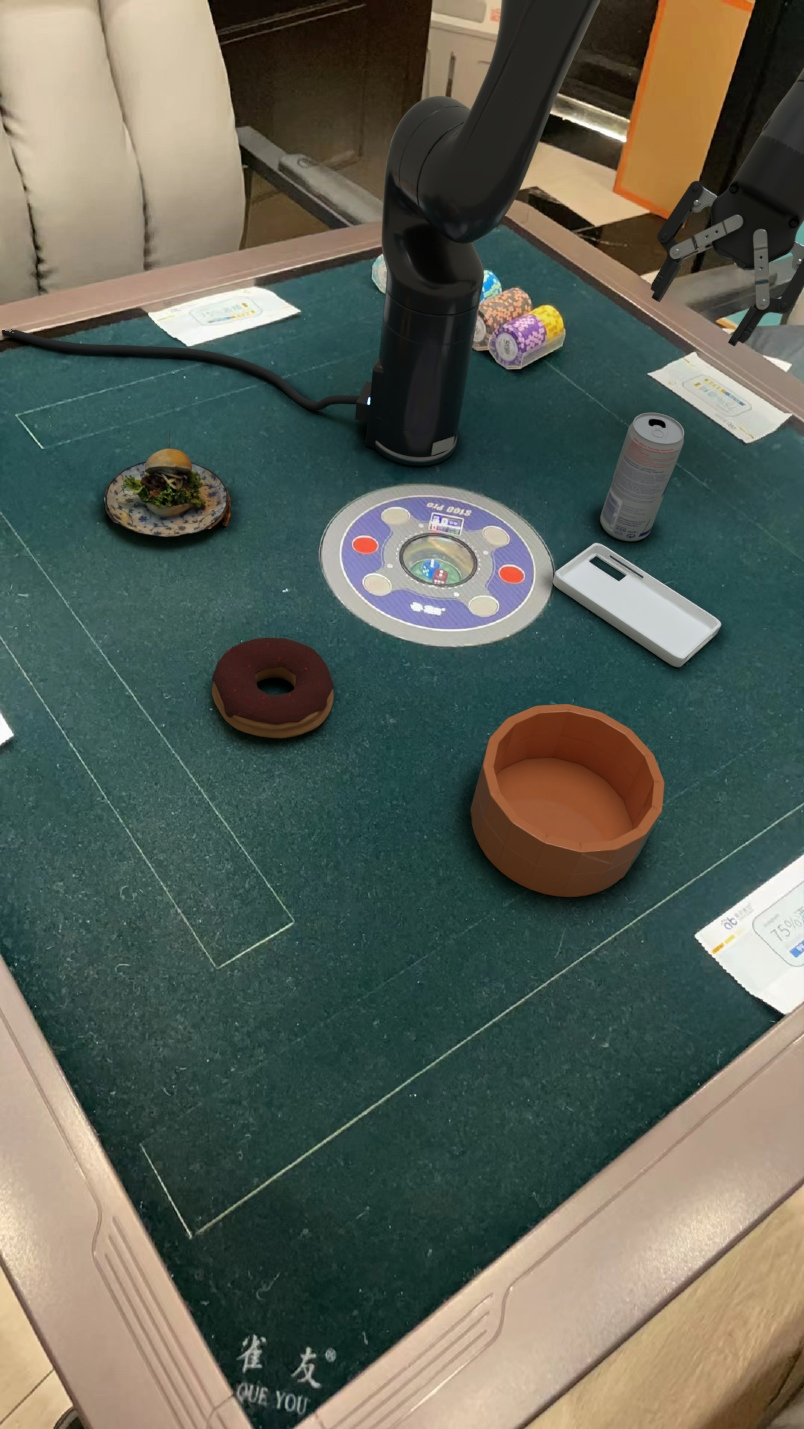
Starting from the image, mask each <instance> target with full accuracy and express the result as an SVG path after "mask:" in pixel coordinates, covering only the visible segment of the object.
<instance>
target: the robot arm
mask: <svg viewBox="0 0 804 1429" xmlns="http://www.w3.org/2000/svg"><path fill="white" fill-rule="evenodd" d="M600 2H601V0H501V2H500V16H499V23H498V31H497V36H496V40H495V41H496V42H495V46H494V50H493V53H492V56H491V60H490V63H489V66H488V68H487V71H486V75H485V76H484V79H483V81H482V83H481V86H480V88H479V90H478V92H477V95H476V97H475V99H474V102H473V104H472V106H471V108H470V107H468V106H467V105H465V104H463V103H462V102H461V101H459V100H457V99H455V98H453V97H450V96H447V95H433V96H429V97H425V98H423V99H421V100H420V101H418V102H416V103H415V104H414V105H413V106H411V107H410V109H408V110H407V111H406V112H405V114H403V116H402V118H401V119H400V121H399V122H398V124H397V126H396V128H395V131H394V132H393V134H392V137H391V140H390V144H389V147H388V151H387V156H386V162H385V171H384V181H383V182H384V183H383V185H384V186H383V200H382V220H381V252H382V257H383V261H384V264H385V268H386V280H385V291H384V292H385V293H384V303H383V311H382V322H381V332H380V342H379V349H378V350H379V352H378V356H377V358H376V360H375V362H374V365H373V367H372V374H371V381H368V380H366V381H365V382H364V385H363V387H362V389H361V391H360V393H359V395H347V394H335V395H328V396H325V397H324V398H321V399H320V400H319V401H316V400H311V399H309V398H306V397H304V396H303V395H302V394H300V393H299V392H298V391H297V390H295V389H294V388H293V387H292V386H291V385H290V384H289V383H288V382H287V381H286V380H284V379H283V378H282V377H281V376H279V375H278V374H276V373H275V372H273V371H271V370H269V369H267V368H265V367H262V366H261V365H258V364H256V363H253V362H250V361H247V360H245V359H241V358H239V357H236V356H231V355H227V354H223V353H218V352H213V351H209V350H203V349H197V348H189V347H188V348H187V347H175V346H174V347H171V346H146V345H131V344H100V343H99V344H97V343H95V344H94V343H93V344H92V343H79V342H71V341H70V342H69V341H63V340H58V339H53V338H48V337H43V336H39V335H36V334H32V333H29V332H27V331H26V332H25V331H22V330H19V329H15V330H12V329H13V328H12V329H11V330H12V331H11V332H9V331H5V330H2V329H1V335H2V336H4V337H7V338H11V339H14V340H15V339H16V340H19V341H23V342H26V343H29V344H32V345H36V346H40V347H45V348H49V349H52V350H59V351H64V352H65V351H66V352H74V353H81V354H106V355H107V354H108V355H109V354H110V355H112V354H113V355H137V356H139V355H140V356H157V357H159V356H161V357H178V358H179V357H181V358H192V359H200V360H205V361H209V362H210V361H211V362H216V363H220V364H225V365H229V366H232V367H235V368H239V369H241V370H245V371H248V372H250V373H252V374H255V375H257V376H260V377H262V378H264V379H266V380H268V381H270V382H272V383H273V384H274V385H276V386H277V387H278V388H279V389H281V391H283V392H284V393H285V394H286V396H288V397H289V398H290V399H292V400H293V401H294V402H295V403H297V404H298V405H299V406H301V407H303V408H305V409H308V410H311V411H322V410H324V409H326V408H327V407H330V406H332V405H355V413H354V414H355V415H354V421H359V422H363V423H366V424H367V426H366V434H365V446H366V447H368V448H372V449H375V450H376V451H377V452H378V453H379V454H380V455H382V456H383V457H384V458H387V459H388V460H390V461H392V462H396V463H398V464H402V465H407V466H415V467H425V466H426V467H427V466H432V465H436V464H439V463H442V462H443V461H445V460H447V459H448V458H450V457H451V456H452V455H453V454H454V452H455V450H456V447H457V441H458V432H459V424H460V418H461V413H462V407H463V403H464V396H465V391H466V385H467V379H468V374H469V368H470V364H471V363H470V362H471V357H472V351H473V346H474V340H475V334H476V327H477V322H478V316H479V312H480V305H481V300H482V299H481V298H482V293H483V288H484V280H485V270H484V266H483V263H482V261H481V258H480V256H479V254H478V251H477V250H476V247H475V244H474V243H475V242H477V241H480V240H482V239H484V238H485V237H486V236H488V235H489V234H491V232H492V231H493V230H494V229H495V228H497V226H498V225H499V224H500V223H501V222H502V221H503V219H504V218H505V217H506V215H507V214H508V212H509V210H510V209H511V207H512V206H513V204H514V202H515V200H516V198H517V196H518V194H519V192H520V190H521V187H522V186H523V183H524V181H525V178H526V176H527V173H528V170H529V169H530V166H531V163H532V161H533V158H534V155H535V153H536V151H537V148H538V145H539V143H540V140H541V138H542V135H543V132H544V130H545V127H546V124H547V122H548V119H549V117H550V114H551V112H552V109H553V107H554V104H555V102H556V98H557V96H558V95H559V92H560V89H561V87H562V85H563V82H564V80H565V78H566V75H567V73H568V71H569V70H570V67H571V64H572V62H573V60H574V58H575V56H576V55H577V52H578V50H579V48H580V46H581V43H582V41H583V39H584V37H585V34H586V32H587V31H588V28H589V26H590V23H591V22H592V20H593V17H594V15H595V12H596V11H597V8H599V5H600ZM707 207H710V223H711V224H710V225H711V226H710V227H708V228H706V229H704V230H702V231H700V232H698V233H696V234H694V235H692V236H691V237H690V238H687V239H685V240H683V241H681V242H678V241H677V240H676V237H677V236H678V234H679V233H680V231H681V230H682V228H683V226H684V225H685V224H686V222H687V220H688V219H689V218H690V216H691V215H692V213H701V211H702V210H704V209H705V208H707ZM803 223H804V67H803V68H802V70H801V71H800V73H799V75H798V76H797V79H796V80H795V82H794V83H793V85H792V86H791V88H790V89H789V90H788V92H787V93H786V94H785V96H784V97H783V98H782V100H781V101H780V102H779V104H778V105H777V106H776V108H775V109H774V111H773V112H772V114H771V116H770V117H769V118H768V119H767V120H766V122H765V123H764V125H763V127H762V129H761V133H760V134H759V136H758V138H757V139H756V141H755V143H754V144H753V146H752V148H751V149H750V151H749V153H748V154H747V156H746V157H745V159H744V161H743V163H742V164H741V166H740V168H739V169H738V171H737V172H736V174H735V176H734V177H733V179H732V180H731V182H730V184H729V186H728V188H726V190H725V191H724V192H723V193H722V194H720V195H716V194H715V193H713V192H711V191H710V190H708V189H707V188H706V187H705V186H704V185H703V184H702V182H701V181H699V180H694V181H692V182H691V183H690V184H689V186H688V187H687V189H686V190H685V192H684V193H683V195H682V196H681V198H680V199H679V201H678V202H677V204H676V205H675V207H674V208H673V210H672V211H671V213H670V215H669V216H668V218H666V220H665V222H664V224H662V226H661V228H660V230H659V231H658V232H657V235H656V239H657V241H658V242H659V243H660V245H661V246H662V247H663V249H664V250H665V252H666V258H665V260H664V262H663V264H662V265H661V268H659V270H658V272H657V274H656V275H655V277H654V279H653V281H652V283H651V286H650V290H651V291H652V292H653V293H652V295H651V299H652V300H654V301H656V302H658V303H660V302H661V301H662V300H663V298H664V296H665V295H666V293H667V292H668V290H669V287H671V284H672V283H673V281H674V280H675V278H676V276H677V275H678V273H679V272H680V270H681V268H682V265H681V263H682V262H683V261H684V260H687V259H688V258H690V257H693V256H695V255H697V254H700V253H703V252H705V251H707V250H709V249H711V248H713V250H714V252H715V253H716V255H717V256H719V257H721V258H723V259H725V260H729V261H732V262H733V263H734V264H735V265H736V266H737V267H738V268H739V269H741V270H743V271H754V288H755V290H754V291H755V303H754V304H753V305H750V307H749V308H748V310H747V311H746V313H745V314H744V316H743V318H742V319H741V321H740V322H739V324H738V325H737V327H736V328H735V330H734V331H733V333H732V334H731V337H729V340H728V341H727V344H729V345H730V346H732V347H736V346H737V345H738V343H741V344H745V343H746V342H747V341H748V340H749V338H750V337H751V336H752V334H753V332H754V331H755V330H756V328H757V326H758V325H759V323H760V322H761V320H762V319H763V317H764V316H765V315H767V314H769V313H771V314H779V315H786V314H788V313H789V312H790V311H791V309H792V308H793V306H794V304H795V303H796V301H797V299H798V297H799V295H800V294H801V292H802V290H803V289H804V244H802V243H800V242H798V241H797V240H796V238H797V234H798V231H799V229H800V227H802V225H803ZM790 253H791V254H792V258H793V259H792V261H791V267H792V270H794V271H795V272H794V274H793V276H792V278H791V280H790V281H789V283H788V284H787V287H786V288H785V290H784V292H783V293H782V295H781V296H780V298H779V297H771V293H770V292H771V291H770V289H771V288H770V267H769V266H770V263H772V262H774V261H776V260H778V259H780V258H782V257H785V256H787V255H788V254H790ZM12 332H14V333H12Z"/></svg>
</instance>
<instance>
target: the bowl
mask: <svg viewBox="0 0 804 1429" xmlns="http://www.w3.org/2000/svg"><path fill="white" fill-rule="evenodd" d="M485 748H486V749H485V751H484V755H483V758H482V763H481V766H480V770H479V773H478V777H477V779H476V780H477V781H476V784H475V789H474V793H473V797H472V800H471V806H470V820H471V825H472V830H473V833H474V836H475V839H476V841H477V843H478V845H479V848H480V849H481V851H482V852H483V853H484V855H485V857H486V858H487V859H488V860H489V861H490V863H491V864H492V865H493V866H494V867H495V868H497V870H499V871H500V872H501V873H502V874H503V875H505V876H506V877H507V878H508V879H509V880H512V881H513V882H515V883H517V884H518V885H520V886H522V887H525V888H526V889H528V890H531V891H534V892H537V893H541V894H543V895H548V896H553V897H561V898H562V897H563V898H574V897H575V898H577V897H578V898H579V897H585V896H590V895H594V894H597V893H600V892H602V891H605V890H607V889H609V888H611V887H612V886H614V885H615V884H616V883H618V882H619V881H621V879H623V878H624V877H625V876H626V874H627V873H628V872H629V870H630V869H631V868H632V866H633V864H634V863H635V862H636V860H637V859H638V857H639V855H640V854H641V852H642V850H643V848H644V847H645V845H646V842H647V841H648V839H649V837H650V835H651V833H652V831H653V830H654V828H655V825H656V823H657V821H658V820H659V818H660V816H661V814H662V812H663V806H664V805H663V804H664V793H665V780H664V778H663V775H662V773H661V769H660V768H659V765H658V762H657V760H656V757H655V754H654V753H653V752H652V751H651V750H650V749H649V747H648V746H647V745H646V744H644V742H643V741H642V740H641V739H640V738H639V736H637V734H636V733H635V731H633V730H632V729H631V728H630V727H628V726H626V725H624V724H622V723H621V722H619V721H617V720H616V719H614V718H612V717H611V716H609V715H607V714H605V713H604V712H601V711H598V710H595V709H590V708H586V707H582V706H577V705H574V704H570V703H564V704H563V703H560V704H542V705H535V706H532V707H530V708H527V709H525V710H523V711H520V712H518V713H516V714H514V715H511V716H508V717H507V718H506V719H505V720H504V721H503V723H501V725H500V726H498V728H497V729H496V730H495V731H494V732H493V734H491V736H490V737H489V738H488V741H487V745H486V747H485Z"/></svg>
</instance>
